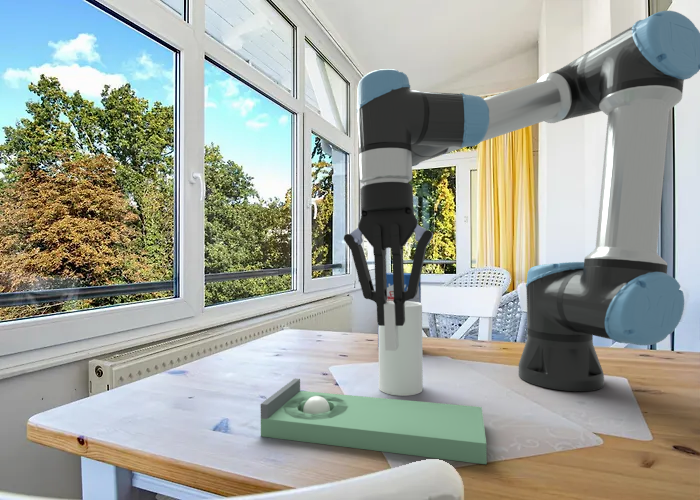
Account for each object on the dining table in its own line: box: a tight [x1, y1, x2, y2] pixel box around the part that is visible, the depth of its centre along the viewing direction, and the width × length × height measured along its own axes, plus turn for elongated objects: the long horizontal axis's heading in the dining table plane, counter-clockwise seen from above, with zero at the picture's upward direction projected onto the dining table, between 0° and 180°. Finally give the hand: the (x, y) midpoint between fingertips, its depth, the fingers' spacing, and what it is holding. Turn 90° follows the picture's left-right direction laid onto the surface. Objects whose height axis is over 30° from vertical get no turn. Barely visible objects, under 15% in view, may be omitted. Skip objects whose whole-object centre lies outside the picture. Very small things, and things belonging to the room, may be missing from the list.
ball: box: [303, 396, 330, 414], centre depth 61 cm, size 4×4×4 cm
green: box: [260, 378, 488, 465], centre depth 59 cm, size 30×12×4 cm, turn 75°
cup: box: [377, 301, 424, 397], centre depth 77 cm, size 8×8×16 cm
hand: (392, 348), depth 58 cm, fingers closed
